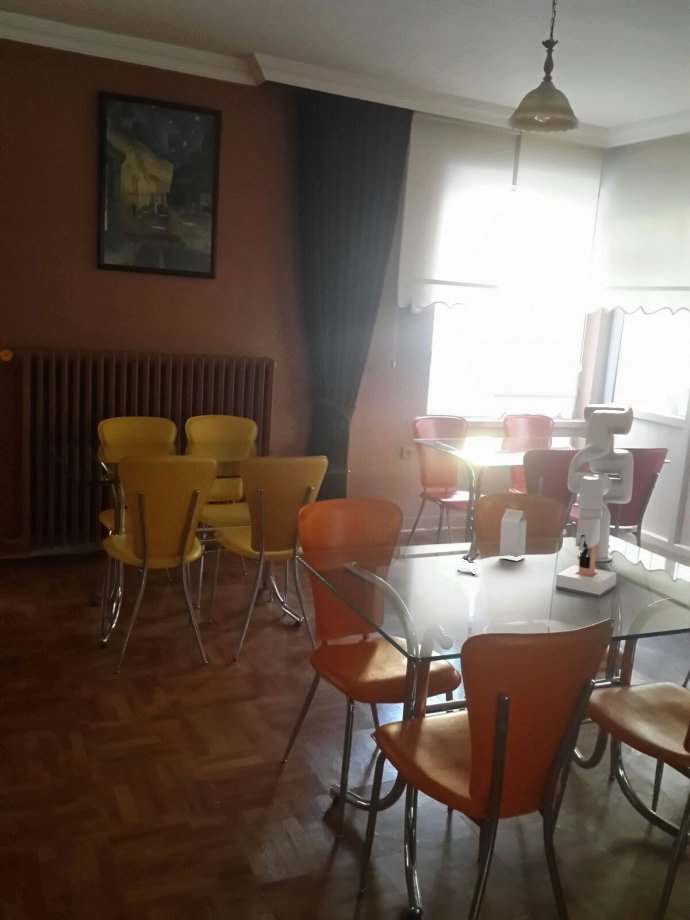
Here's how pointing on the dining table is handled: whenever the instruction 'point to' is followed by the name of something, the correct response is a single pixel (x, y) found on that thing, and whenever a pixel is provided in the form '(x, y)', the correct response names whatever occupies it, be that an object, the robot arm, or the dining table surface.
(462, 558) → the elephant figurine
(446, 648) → the dining table surface
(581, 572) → the peg
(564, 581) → the socket block
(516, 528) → the milk carton
